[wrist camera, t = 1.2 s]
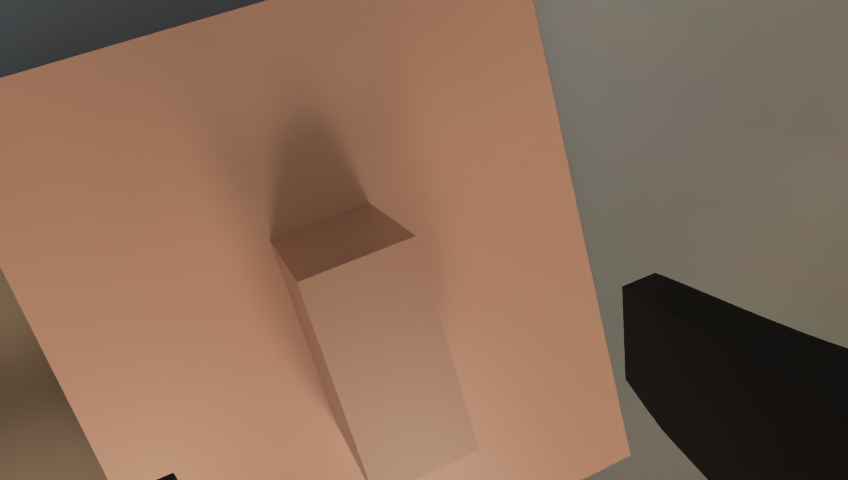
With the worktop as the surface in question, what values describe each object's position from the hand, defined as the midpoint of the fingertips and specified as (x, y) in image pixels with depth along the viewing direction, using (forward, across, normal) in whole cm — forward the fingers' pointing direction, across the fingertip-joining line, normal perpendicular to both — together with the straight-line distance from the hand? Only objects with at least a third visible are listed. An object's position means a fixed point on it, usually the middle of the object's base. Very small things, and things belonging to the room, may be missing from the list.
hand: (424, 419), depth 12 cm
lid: (+7, 0, +3) cm, 8 cm away
